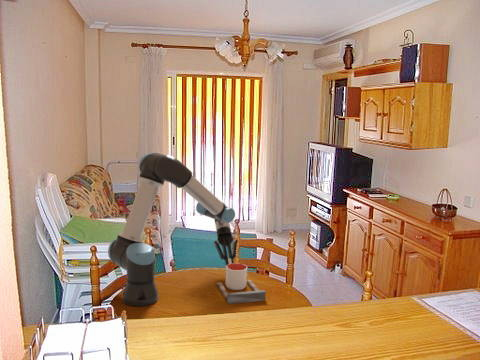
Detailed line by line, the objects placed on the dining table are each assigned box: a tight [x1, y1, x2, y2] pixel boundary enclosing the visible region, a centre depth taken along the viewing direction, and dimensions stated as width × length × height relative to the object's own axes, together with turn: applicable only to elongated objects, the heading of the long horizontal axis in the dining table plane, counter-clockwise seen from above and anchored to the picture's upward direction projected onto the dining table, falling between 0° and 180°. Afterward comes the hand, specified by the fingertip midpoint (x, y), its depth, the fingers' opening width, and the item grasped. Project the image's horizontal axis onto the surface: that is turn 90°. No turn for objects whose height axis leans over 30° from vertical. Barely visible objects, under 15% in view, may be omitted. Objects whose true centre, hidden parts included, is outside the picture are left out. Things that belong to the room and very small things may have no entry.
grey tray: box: [216, 279, 267, 305], centre depth 190 cm, size 20×17×4 cm
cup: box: [225, 262, 248, 291], centre depth 196 cm, size 10×10×10 cm
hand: (231, 271), depth 205 cm, fingers closed
